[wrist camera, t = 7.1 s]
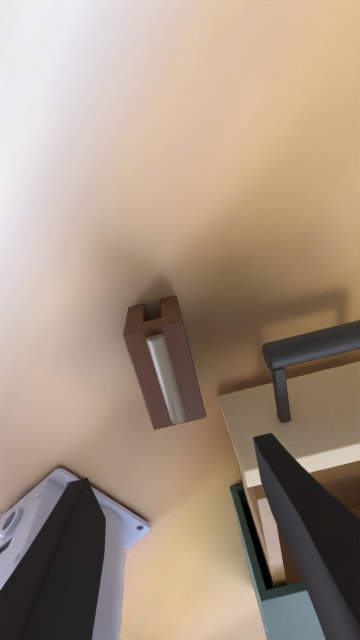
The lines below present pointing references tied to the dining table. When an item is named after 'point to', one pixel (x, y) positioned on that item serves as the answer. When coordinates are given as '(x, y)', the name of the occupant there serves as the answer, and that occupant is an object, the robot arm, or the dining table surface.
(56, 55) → the dining table surface
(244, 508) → the cabinet
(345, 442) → the drawer
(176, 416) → the dark brown chunk
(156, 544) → the dining table surface
